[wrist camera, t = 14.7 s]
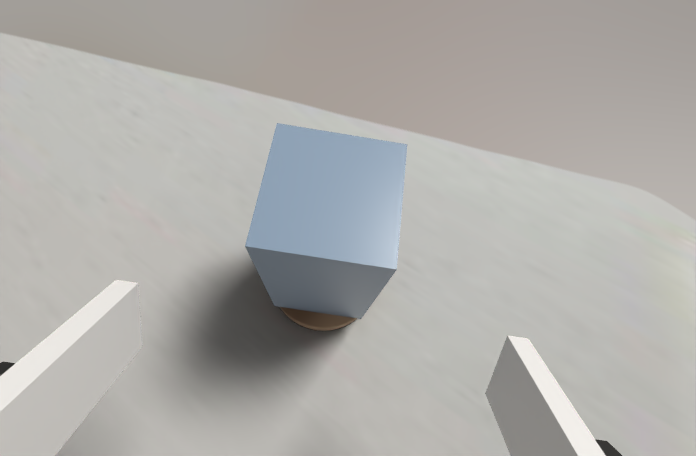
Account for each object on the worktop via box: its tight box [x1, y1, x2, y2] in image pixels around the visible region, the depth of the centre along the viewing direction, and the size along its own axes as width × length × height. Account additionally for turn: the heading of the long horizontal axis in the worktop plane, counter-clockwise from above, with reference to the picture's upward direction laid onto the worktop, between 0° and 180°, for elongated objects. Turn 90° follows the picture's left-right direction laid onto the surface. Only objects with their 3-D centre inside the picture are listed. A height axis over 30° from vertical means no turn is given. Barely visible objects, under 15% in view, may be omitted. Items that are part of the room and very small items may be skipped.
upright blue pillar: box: [245, 123, 407, 319], centre depth 21 cm, size 6×6×12 cm
